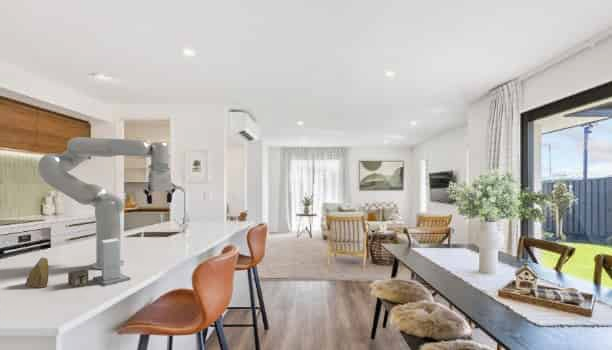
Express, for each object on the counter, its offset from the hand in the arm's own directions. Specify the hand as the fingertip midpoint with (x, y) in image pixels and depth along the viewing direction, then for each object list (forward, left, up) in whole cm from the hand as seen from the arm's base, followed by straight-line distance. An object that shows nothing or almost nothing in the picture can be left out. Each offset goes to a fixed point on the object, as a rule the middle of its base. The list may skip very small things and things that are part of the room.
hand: (159, 203), depth 155 cm
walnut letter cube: (+8, -36, -28) cm, 46 cm away
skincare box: (+12, -26, -28) cm, 40 cm away
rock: (-4, -46, -29) cm, 54 cm away
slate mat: (+12, -26, -28) cm, 40 cm away
